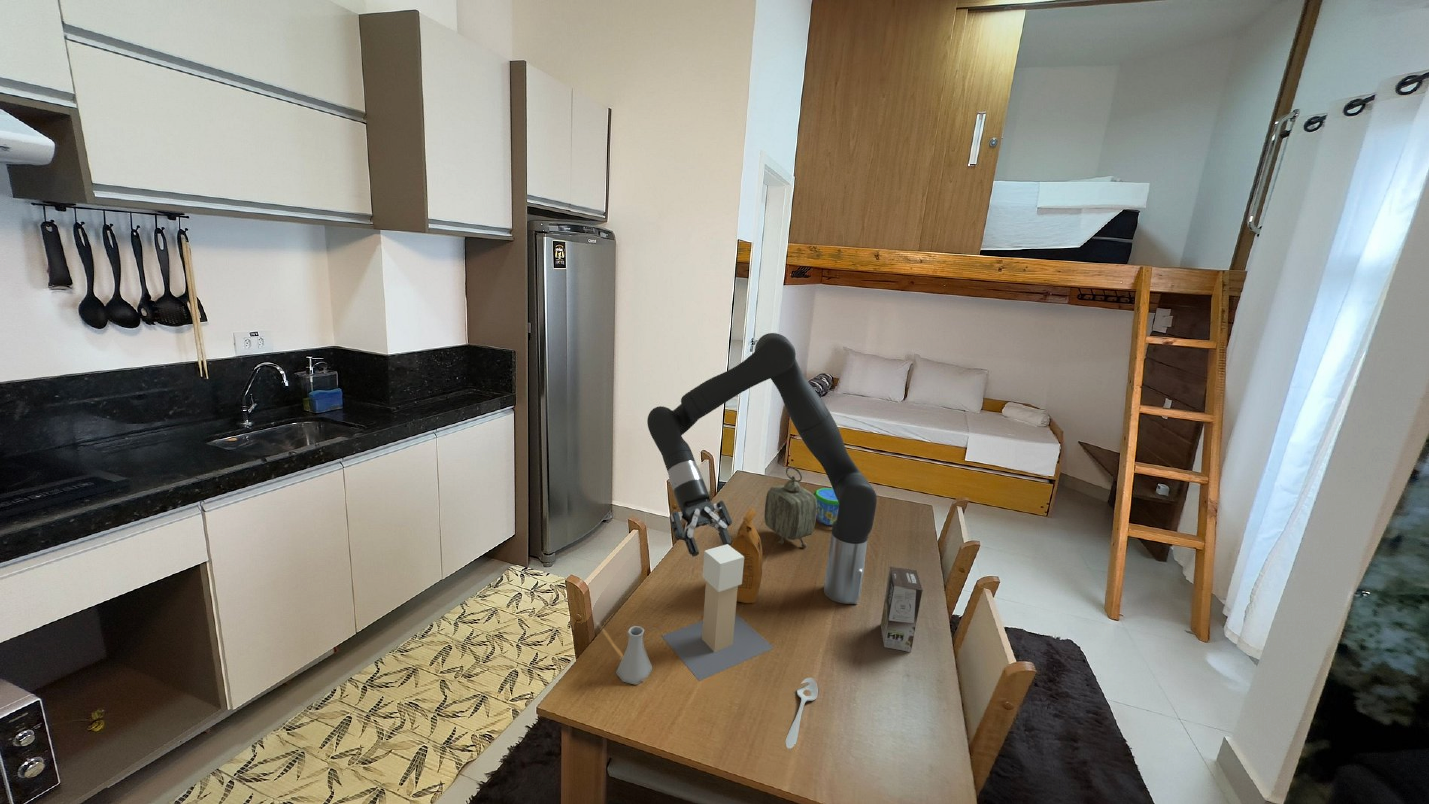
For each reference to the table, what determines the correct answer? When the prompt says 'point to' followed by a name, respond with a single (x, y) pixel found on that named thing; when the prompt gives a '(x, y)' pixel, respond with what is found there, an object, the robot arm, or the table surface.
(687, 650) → the mat
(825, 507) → the snack cup
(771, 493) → the tabletop clock
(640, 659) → the flask
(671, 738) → the table surface
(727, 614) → the beige tall block
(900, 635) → the coffee box
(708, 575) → the white cube block
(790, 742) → the spoon
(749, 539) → the coffee package
